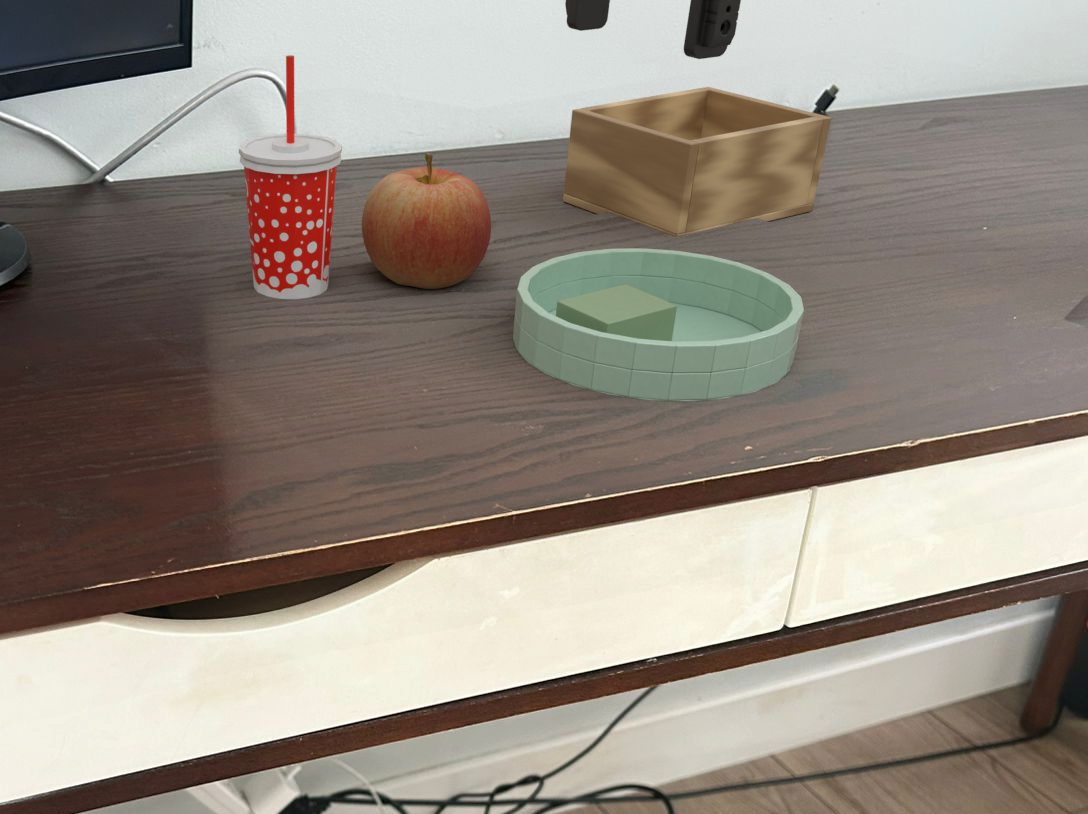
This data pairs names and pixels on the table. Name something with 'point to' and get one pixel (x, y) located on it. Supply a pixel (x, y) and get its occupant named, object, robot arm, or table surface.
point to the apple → (426, 227)
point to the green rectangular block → (621, 313)
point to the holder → (694, 160)
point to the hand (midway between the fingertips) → (642, 41)
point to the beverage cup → (290, 206)
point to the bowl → (698, 337)
